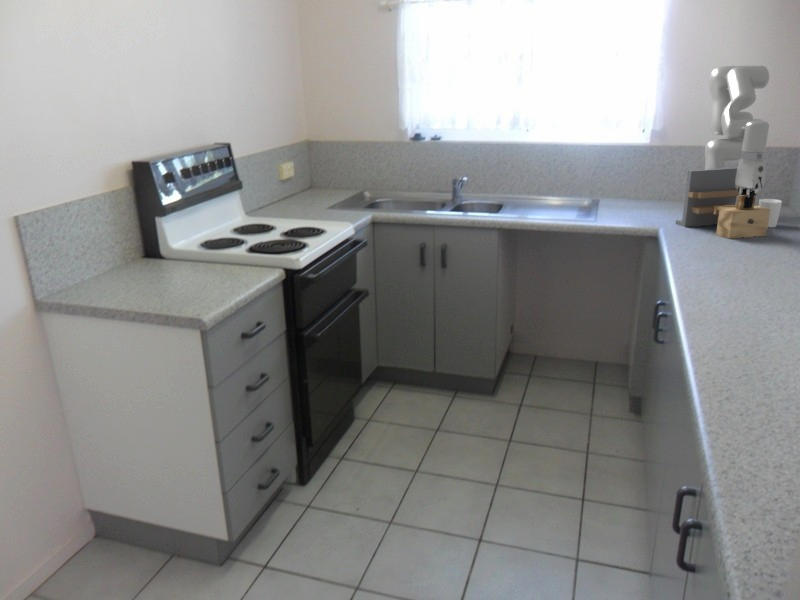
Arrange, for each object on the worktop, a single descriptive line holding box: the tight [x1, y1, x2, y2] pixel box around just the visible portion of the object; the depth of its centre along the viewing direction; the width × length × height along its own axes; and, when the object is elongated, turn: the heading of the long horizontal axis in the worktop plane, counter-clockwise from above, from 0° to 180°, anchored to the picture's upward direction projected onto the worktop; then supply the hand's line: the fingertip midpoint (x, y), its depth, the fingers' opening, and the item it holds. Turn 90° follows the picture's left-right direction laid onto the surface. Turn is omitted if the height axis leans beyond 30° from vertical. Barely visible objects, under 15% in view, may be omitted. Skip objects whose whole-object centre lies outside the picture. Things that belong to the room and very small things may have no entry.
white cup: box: [758, 198, 783, 228], centre depth 259 cm, size 8×8×10 cm
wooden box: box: [713, 194, 770, 240], centre depth 246 cm, size 12×16×15 cm
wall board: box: [675, 167, 739, 228], centre depth 261 cm, size 10×22×22 cm, turn 103°
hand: (745, 206), depth 243 cm, fingers closed on wooden box
